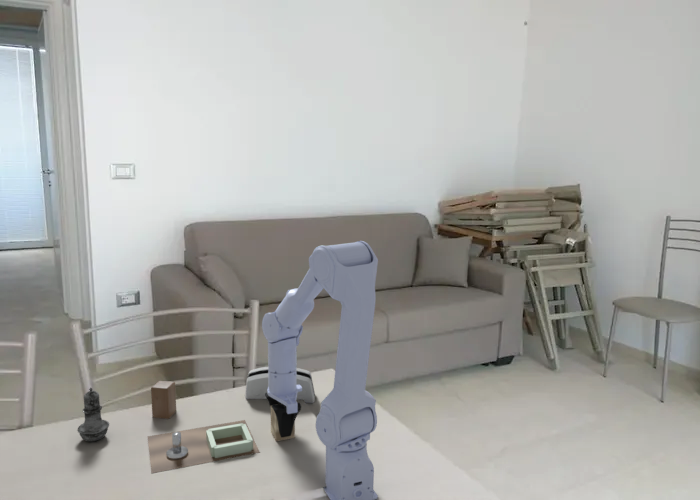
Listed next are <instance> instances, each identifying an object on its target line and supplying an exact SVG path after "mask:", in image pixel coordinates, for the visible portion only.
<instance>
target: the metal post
mask: <svg viewBox="0 0 700 500" xmlns="http://www.w3.org/2000/svg"><path fill="white" fill-rule="evenodd" d="M173 432H174V433H172V442H173V448H170V449H169V450H168V451H167V452H166V456H167V458H168V459H171V460H178V459H182V458H184V457H186V456H187V455H188V449H187V448H186V447H183V446H181V432H177V431H173Z"/></svg>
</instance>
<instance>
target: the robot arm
mask: <svg viewBox="0 0 700 500" xmlns="http://www.w3.org/2000/svg"><path fill="white" fill-rule="evenodd" d="M378 264H379V259H378V257H377V255H376V254H375V252H374V250H373V248H372V247H371V245H370V244H369V243H368V242H366V241H363V240H359V241H354V242H348V243H339V244H330V245H325V244H324V245H319V246H316V247H315V248H314V249H313V251H312V253H311V254H310V256H309V257H308V267H309V268H308V270H307V272H306V274H305V275H304V277H303V279H302V281H301V283H300V285H299V286H298V288H296V287H295V288H291V289H287V291H286V292H285V296H284V298H283V299H282V301H281V302H280V303H279V305H278V306H277V308H276V309H275V310H274V311H272V312H267V313H266V312H265V314H264V315H263V317H262V320H261V330H262V332H263V336H264V338H265V339H266V341H267V361H268V362H267V364H268V365H267V367H268V390H267V393H265V396H266V398H267V399H266V401H268V402H267V403H268V405H269V408H270V409H271V405H272V408H273V410H274V412H275V414H276V417H277V421H278V427H279V433H280V436H281V437H288V436H291V434H292V430H293V426H294V422H295V423H296V419H297V417H298V415H299V414H300V412H301V410H302V405H301V404H300V402H297V400H298V399H297V393H298V392H300V391H302V387H301V385H297V368H298V367H297V366H298V365H297V362H298V361H297V354H298V353H297V347H298V346H299V344H300V337H301V336H302V333H303V329H304V327H303V323H304V322H305V321H306V319H307V318H308V316H309V315H310V314H311V313H312V312H313V310H314V308H315V301H314V300H315V299H316V298H317V296H319V294H320V293H321V292H322V291H323V290H325V292H326V293H327V294H328V295H329V296H330V297H331V299H332V300H335V301H338V302H339V303H340V305H341V309H340V310H341V311H340V312H341V313H340V321H339V330H338V339H337V340H338V341H337V351H336V360H335V371H334V380H333V388H332V390H331V391H330V392H329V393H328V394H327V396H325V397H324V399H323V400H322V401H321V402H320V410H319V412H318V414H317V415H316V419H315V431H316V435H317V437H318V439H319V441H320V442H321V443H322V444H323V446H325V485H326V486H323V487H322V489H323V490H324V492H325V494H326V496H327V497H328V499H329V500H378V499H379V495H378V494H377V492H376V491H375V490H374V484H375V483H374V482H375V481H374V476H375V475H374V474H375V467H374V464H373V462H372V460H371V458H370V457H369V455H368V449H367V442H368V441H370V440H371V434H372V433H373V432H374V431H375V430H376V428H377V423H378V415H377V412H376V404H377V401H376V399H375V397H374V396H373V395H372V394H371V393H370V392H369V391H367V390H366V387H367V386H366V384H367V377H368V369H369V360H370V352H371V343H372V334H373V326H374V318H375V310H376V302H377V301H376V299H377V298H376V297H377V296H376V295H377V294H376V279H377V271H378Z"/></svg>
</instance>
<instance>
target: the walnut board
mask: <svg viewBox="0 0 700 500" xmlns="http://www.w3.org/2000/svg"><path fill="white" fill-rule="evenodd" d="M241 423H243V424H246V426H247V428H248V430H249V433H250V435H251V437H252V439H253V450H251V451H250V452H245V453H239V454H234V455H229V456H224V457H218V458H215V457H212V456H211V453H210V450H209V447H208V443H207V440H206V431H207V430H208V429H211V428H217V427H223V426H229V425H235V424H241ZM174 432H175V431H172V432H166V433H161V434H160V433H159V434H154V435H148V436H147V442H148V443H147V444H148V453H149V454H148V456H149V462H150V463H149V465H150V471H151V472H150V473H151V474H156V473H161V472H166V471H171V470H177V469H182V468H186V467H192V466H197V465H203V464H208V463H213V462H218V461H222V460H228V459H235V458H238V457H243V456H249V455H250V456H251V455H254V454H260V453H261V452H260V449H259V447H258V445H257V443H256V441H255V439H254V437H253V435H252V432H251V430H250V428H249V426H248V424H247V421H246V420H245V419H243V420H237V421H231V422H227V423H226V422H225V423H220V424H219V423H218V424H213V425H207V426H201V427H196V428H190V429H183V430H179V431H176V432H181V446H183V447H186V448H187V449H188V455H187V456H186V457H184V458H182V459H178V460H171V459H168V458H167V456H166V452H167V451H168V450H169V449H170V448H173V442H172V433H174ZM238 441H244V440H243V438H242V435H237V436H231V437H226V438H220V439H215V443H216V445H222V444H227V443H233V442H238Z"/></svg>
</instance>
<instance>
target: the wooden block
mask: <svg viewBox="0 0 700 500" xmlns="http://www.w3.org/2000/svg"><path fill="white" fill-rule="evenodd" d="M150 388H151V389H150V394H151V396H150V397H151V412H152V413H151V414H152V415H151V416H152V418H155V419H163V420H164V419H166V420H168V419H171V418H172V417H173V416H174V415H175V413H176V412H177V397H176V396H177V395H176V394H177V393H176V381H169V380H158V381H157V382H156V383H155V384H153V385H152V386H151V387H150Z"/></svg>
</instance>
